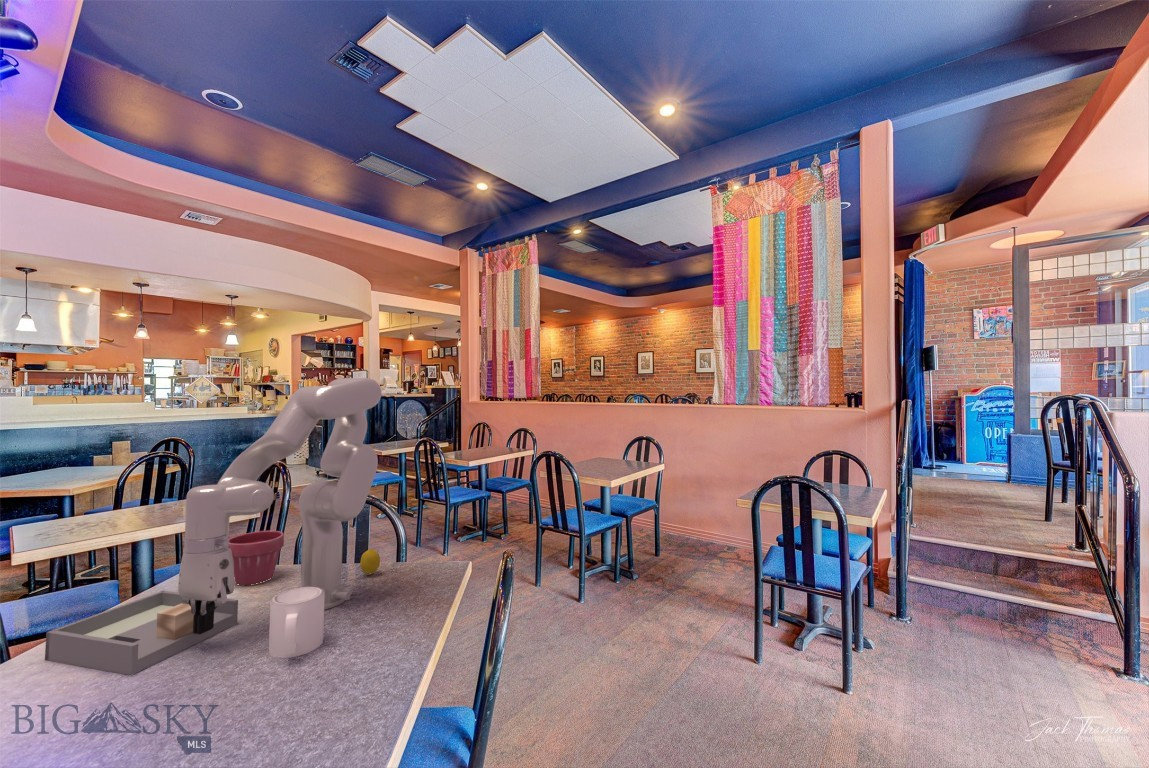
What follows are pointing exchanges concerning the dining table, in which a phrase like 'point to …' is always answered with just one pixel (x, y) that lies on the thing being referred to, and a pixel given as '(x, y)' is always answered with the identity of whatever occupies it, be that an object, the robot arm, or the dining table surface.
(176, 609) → the maple block
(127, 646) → the box
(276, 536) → the plant pot
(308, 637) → the mug
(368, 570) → the lemon
